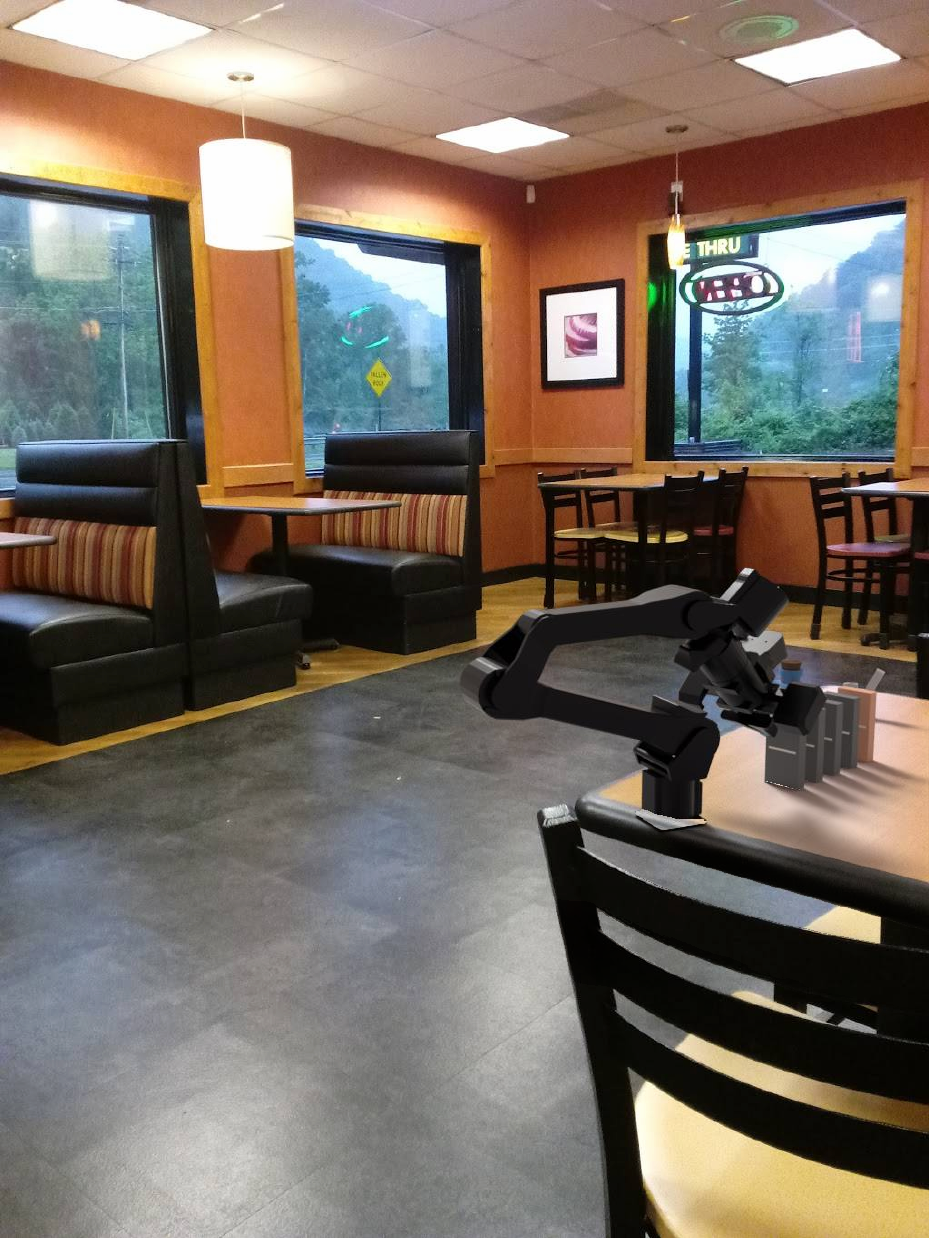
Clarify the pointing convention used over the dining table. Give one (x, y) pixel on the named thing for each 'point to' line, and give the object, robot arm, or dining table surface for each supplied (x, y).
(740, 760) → the dining table surface
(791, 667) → the perfume bottle
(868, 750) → the domino
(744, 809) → the dining table surface
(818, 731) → the domino
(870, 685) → the lighter
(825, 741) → the domino
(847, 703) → the domino
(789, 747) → the domino
